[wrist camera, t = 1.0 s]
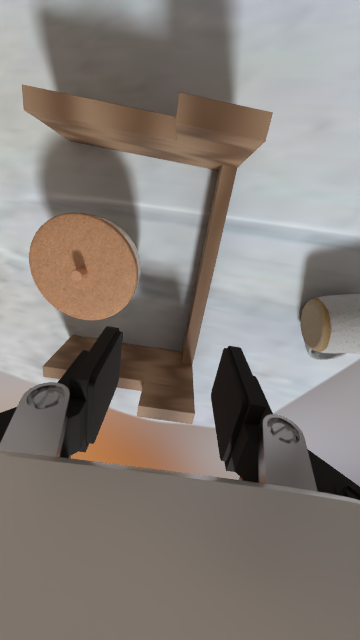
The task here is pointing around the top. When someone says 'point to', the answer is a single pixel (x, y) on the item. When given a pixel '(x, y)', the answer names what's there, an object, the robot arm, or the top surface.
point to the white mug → (331, 326)
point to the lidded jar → (84, 265)
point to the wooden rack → (219, 154)
